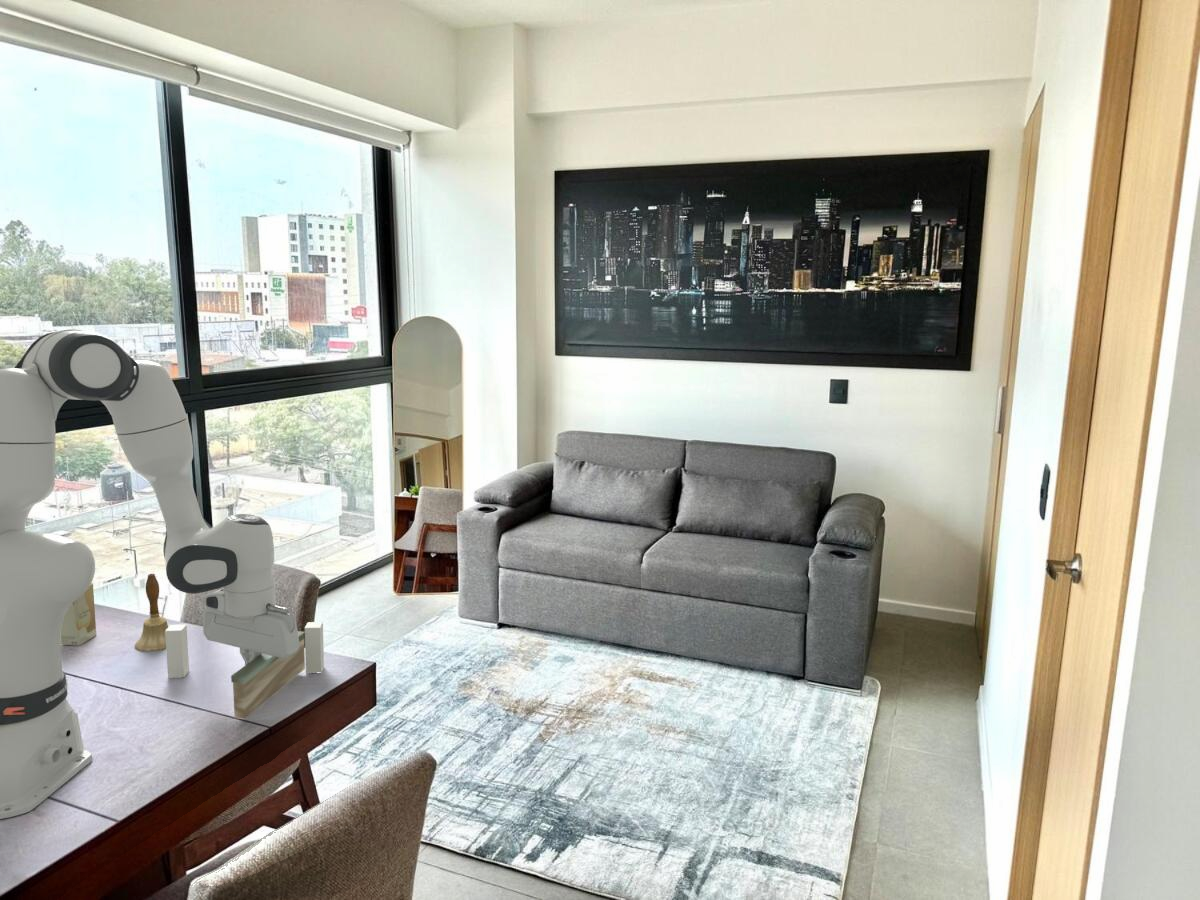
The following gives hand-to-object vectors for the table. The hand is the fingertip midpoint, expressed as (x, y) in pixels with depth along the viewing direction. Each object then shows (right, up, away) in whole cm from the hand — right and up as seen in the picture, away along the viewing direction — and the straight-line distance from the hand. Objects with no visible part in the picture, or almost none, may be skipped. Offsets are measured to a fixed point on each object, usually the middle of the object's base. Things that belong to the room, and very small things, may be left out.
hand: (252, 669), depth 156 cm
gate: (+3, -5, +2) cm, 6 cm away
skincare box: (-48, 0, +25) cm, 55 cm away
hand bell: (-31, -1, +24) cm, 40 cm away
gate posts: (-6, -4, +12) cm, 14 cm away
